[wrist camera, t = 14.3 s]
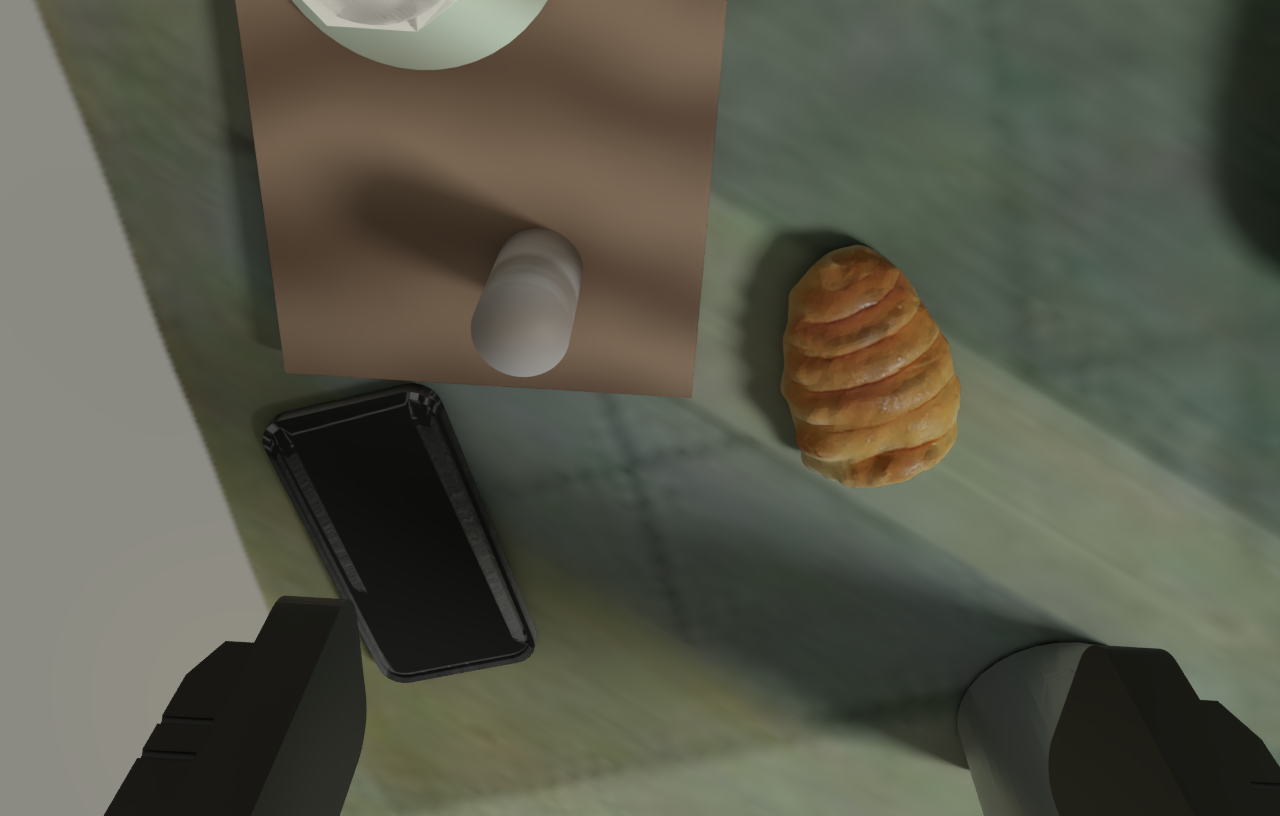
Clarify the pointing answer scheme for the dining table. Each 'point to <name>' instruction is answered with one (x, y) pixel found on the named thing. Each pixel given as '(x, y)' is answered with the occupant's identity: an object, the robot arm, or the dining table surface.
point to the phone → (403, 531)
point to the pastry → (866, 372)
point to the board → (489, 190)
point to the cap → (379, 13)
